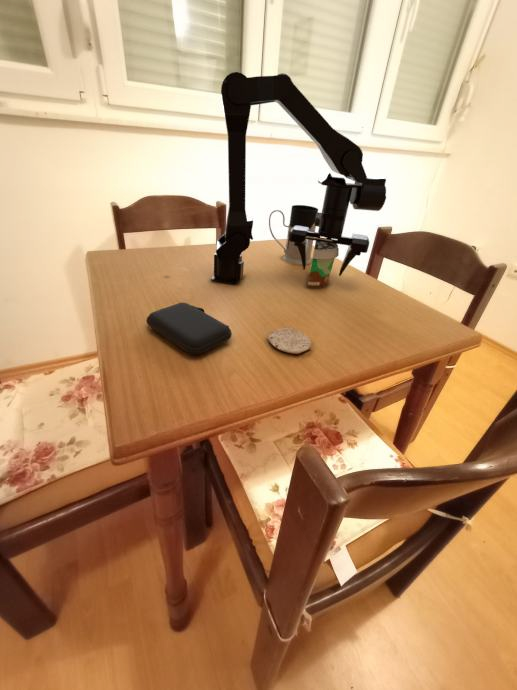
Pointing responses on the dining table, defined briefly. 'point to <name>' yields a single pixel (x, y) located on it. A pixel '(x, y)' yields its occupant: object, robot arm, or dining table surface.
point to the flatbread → (290, 340)
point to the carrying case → (189, 328)
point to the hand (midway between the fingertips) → (321, 272)
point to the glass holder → (299, 217)
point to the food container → (322, 263)
